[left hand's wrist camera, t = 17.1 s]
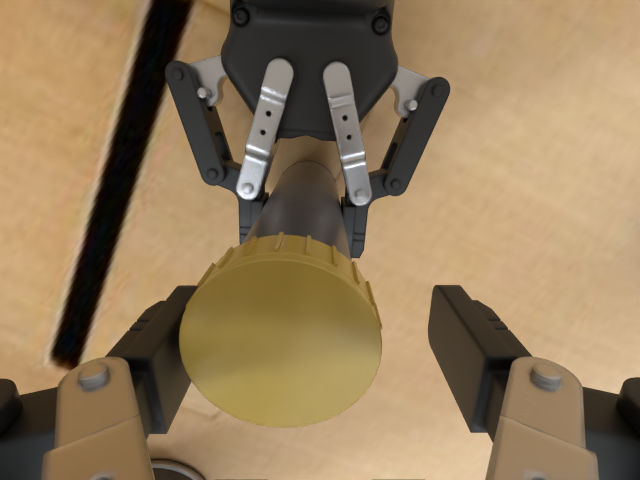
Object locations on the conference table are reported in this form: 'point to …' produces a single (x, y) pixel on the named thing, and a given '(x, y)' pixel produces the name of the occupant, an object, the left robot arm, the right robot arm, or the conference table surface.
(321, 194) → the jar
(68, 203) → the conference table surface
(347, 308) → the lid
